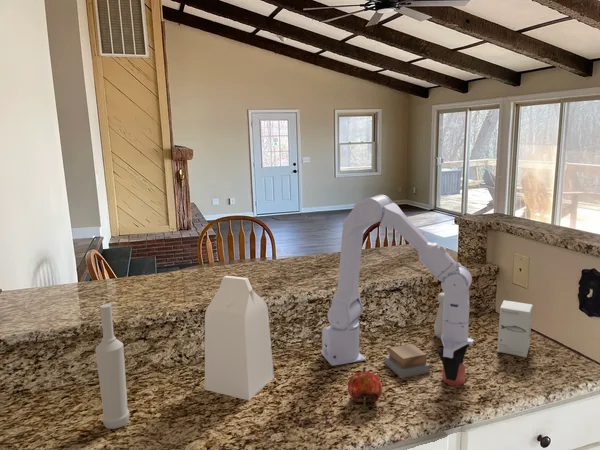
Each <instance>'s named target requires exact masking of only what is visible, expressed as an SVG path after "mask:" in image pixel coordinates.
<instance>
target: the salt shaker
mask: <svg viewBox="0 0 600 450" xmlns="http://www.w3.org/2000/svg"><path fill="white" fill-rule="evenodd" d="M443 300H444V291H443V292H439V293H438V294H437V302H439V305H438V310H437V312H436V313H437V314H436V317H435V322H434V326H433V330H434V333H435V335H436V338H437V339H440V340H441V336H442V326H443Z"/></svg>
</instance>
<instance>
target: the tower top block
mask: <svg viewBox="0 0 600 450" xmlns="http://www.w3.org/2000/svg"><path fill="white" fill-rule="evenodd" d="M388 353H389V355H388V356H389V357H390V358H391V359H392V360H394V361H395V362H396V363H397V364H398V365H400V366H401V367H402V368H408V367H413V366H418V365H423V364H426V362H427V353H425V352H424V351H422V350H421V349H420V348H419V347H417V346H415V345H414V344H413V343H409V344H405V345H404V344H403V345H398V346H392V347H389V352H388Z"/></svg>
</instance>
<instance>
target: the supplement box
mask: <svg viewBox="0 0 600 450" xmlns="http://www.w3.org/2000/svg"><path fill="white" fill-rule="evenodd" d="M533 306H534V304H531V303H527V302H526V303H524V302H518V301H512V300H505V299H504V300H503V301H502V303H501V305H500V308H499V320H498V322H499V323H498V335H497V336H498V337H497V347H496V348H497V350H496V351H497V353H504V354H509V355H514V356H518V357H523V358H527V357H528V354H529V349H530V339H531V329H532V317H533V316H532V314H533Z"/></svg>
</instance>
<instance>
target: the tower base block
mask: <svg viewBox="0 0 600 450" xmlns="http://www.w3.org/2000/svg"><path fill="white" fill-rule="evenodd" d="M384 364H385V365H386V366H387V367H388V368H389V369H390V370H391V371H393V372H394V373H395V374H396V375H397V376H398V377H399V378H400V379H403V378H404V379H405V378H408V377H414V376H419V375H426V374H429V373H430V372H431V364H429V363H428V362H427V361H426V364H423V365H418V366H413V367H408V368H402V367H401V366H400V365H398V364H397V363H396V362H395V361H394V360H392V359H391V358H390V357H389V355H386V356H384Z"/></svg>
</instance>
